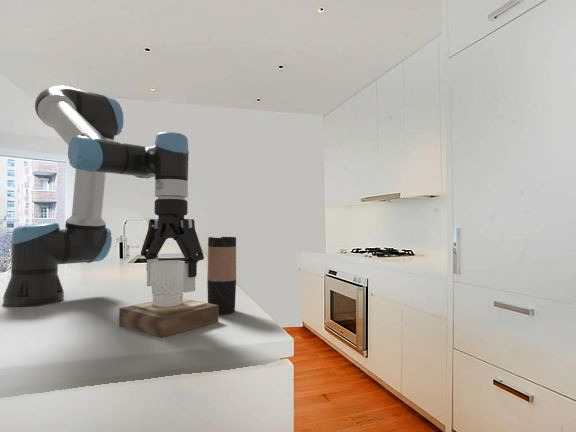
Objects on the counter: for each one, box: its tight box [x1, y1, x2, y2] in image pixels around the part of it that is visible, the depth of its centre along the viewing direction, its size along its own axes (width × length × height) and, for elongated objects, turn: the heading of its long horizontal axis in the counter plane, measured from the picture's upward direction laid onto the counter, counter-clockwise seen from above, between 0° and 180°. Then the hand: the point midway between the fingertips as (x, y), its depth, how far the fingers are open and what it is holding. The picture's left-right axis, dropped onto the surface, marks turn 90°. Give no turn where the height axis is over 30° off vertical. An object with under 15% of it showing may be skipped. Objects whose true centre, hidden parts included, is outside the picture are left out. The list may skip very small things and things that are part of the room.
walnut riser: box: [118, 298, 220, 338], centre depth 91 cm, size 16×16×4 cm
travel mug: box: [206, 236, 237, 316], centre depth 104 cm, size 8×8×20 cm
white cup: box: [150, 260, 186, 307], centre depth 91 cm, size 8×8×10 cm
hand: (170, 288), depth 91 cm, fingers open, 13 cm apart
